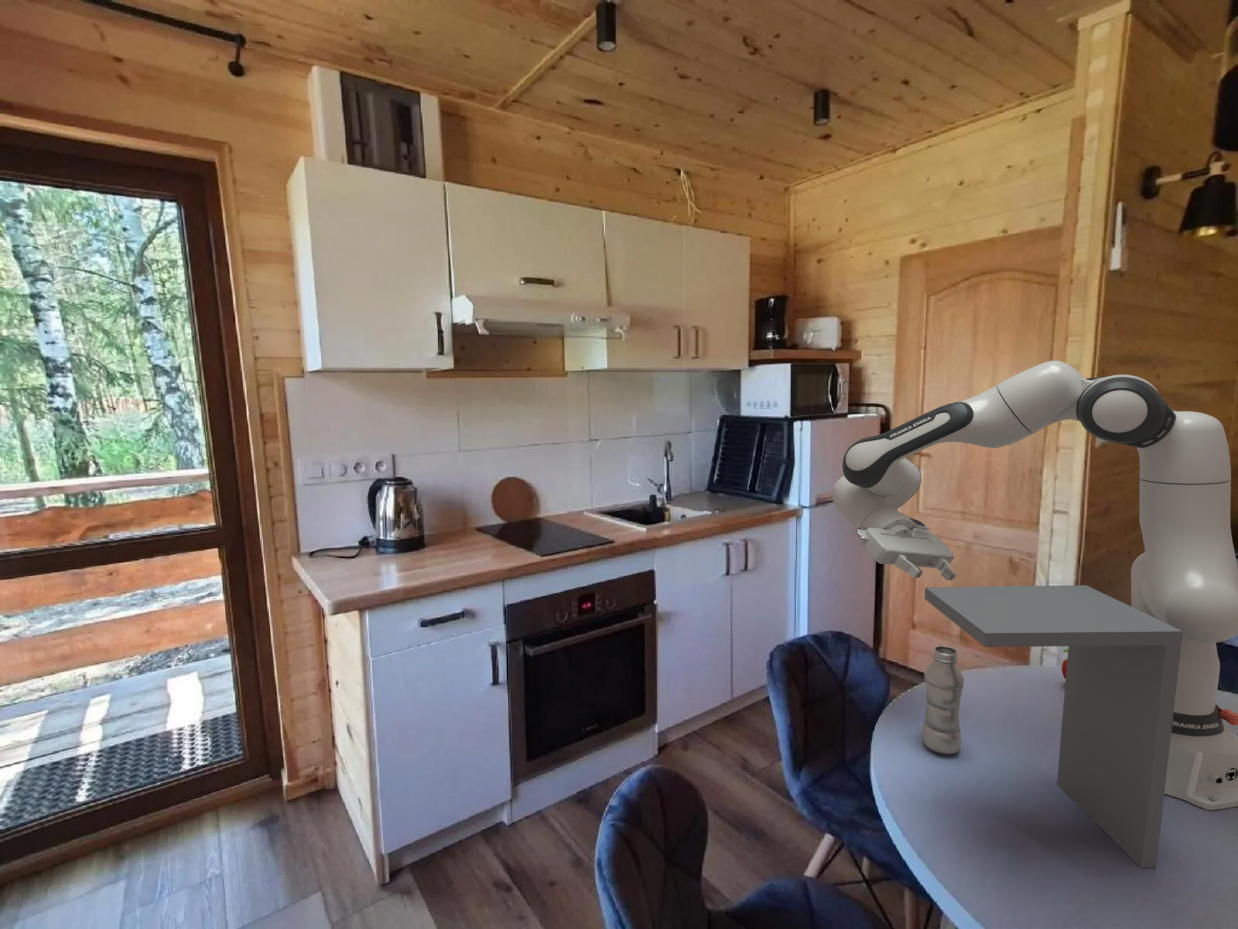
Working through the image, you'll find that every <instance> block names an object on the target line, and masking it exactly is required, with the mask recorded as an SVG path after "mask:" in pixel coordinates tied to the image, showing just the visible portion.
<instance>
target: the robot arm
mask: <svg viewBox="0 0 1238 929" xmlns="http://www.w3.org/2000/svg"><path fill="white" fill-rule="evenodd" d="M1066 420H1068V421H1069V420H1073V421H1077V422H1079V423H1081V425H1082V427H1083V428H1084V429H1085V430H1086V432H1087V433H1089V434H1090V435H1092V436H1094V437H1095V438H1098V439H1100V440H1103V441H1105V442H1108V443H1113V444H1118V445H1120V444H1121V445H1125V446H1129V447H1132V448H1133V447H1134V448H1136V450H1137V453H1138V458H1139V527H1140V530H1141V534H1142V540H1143V541H1142V542H1143V547H1144V552H1143V553H1141V554H1139V555H1138V556H1137V557H1136V559H1135V560H1134V561H1133V563H1132V566H1131V568H1130V569H1131V570H1130V581H1131V584H1130V585H1131V589H1130V590H1131V591H1130V592H1131V593H1130V595H1131V597H1130V598H1131V599H1130V601H1131V602H1130V603H1131V604H1130V606H1131V607H1133V608H1135V609H1137V610H1139V611H1141V612H1143V613H1146V614H1148V615H1150V616H1152V617H1154V618H1156V619H1158V620H1160V621H1162V622H1164V623H1166V624H1169V625H1171V626H1173V627H1175V628H1177V629H1179V630H1181V631H1183V634H1182V643H1181V651H1180V660H1179V669H1178V678H1177V687H1176V695H1175V704H1174V713H1173V722H1172V730H1171V739H1170V748H1169V757H1168V766H1167V774H1166V783H1165V792H1164V795H1168V796H1172V797H1175V798H1178V799H1182V800H1184V801H1186V802H1188V803H1191V804H1193V805H1195V806H1197V807H1199V808H1202V809H1204V810H1208V811H1209V810H1210V811H1215V810H1216V811H1217V810H1222V809H1228V808H1235V807H1238V736H1236V735H1235V734H1234V733H1233V732H1232V731H1230V730H1229V729H1228V728H1227V727H1225V726H1224V722H1223V721H1226V723H1228V724H1230V725H1231V726H1238V713H1236V712H1234V711H1232V710H1231V709H1229V708H1224V709H1222V708H1221V707H1220V705H1217V703H1216V702H1217V697H1218V696H1217V694H1218V689H1219V688H1218V686H1219V680H1220V671H1221V670H1220V669H1221V664H1220V663H1221V662H1220V658H1219V655H1218V649H1217V643H1221V642H1225V641H1227V640H1230V639H1232V638H1234V637H1236V636H1237V635H1238V562H1237V557H1236V552H1235V547H1234V542H1233V537H1232V528H1231V506H1232V504H1231V499H1232V498H1231V497H1232V496H1231V495H1232V494H1231V490H1232V488H1231V487H1232V466H1231V456H1230V450H1229V449H1230V448H1229V444H1228V440H1227V436H1226V435H1227V434H1226V431H1225V428H1224V426H1223V424H1222V423H1221V422H1222V421H1220V420H1219V419H1218V418H1216V417H1214V416H1212V415H1209V414H1207V413H1203V412H1199V411H1193V410H1192V411H1190V410H1189V411H1188V410H1187V411H1186V410H1184V411H1183V410H1182V411H1179V410H1173V409H1172V407H1170V406H1169V404H1168V403H1167V402H1166V400H1165V399H1164V398H1163V397H1162V395H1161V394H1160V392H1159V391H1158V389H1157V388H1156V387H1155V386H1154V385H1153V384H1152V383H1151V382H1149V381H1148V380H1146V379H1144V378H1143V377H1140V376H1137V375H1136V376H1135V375H1132V374H1114V375H1108V376H1098V377H1087V378H1085V377H1084V376H1083V375H1082V374H1081V373H1080V372H1079V371H1078V370H1077V369H1076V368H1075V367H1073V366H1072V365H1070V364H1069V363H1066V362H1064V361H1061V360H1048V361H1045V362H1042V363H1040V364H1038V365H1035V366H1032V367H1030V368H1027V369H1025V370H1023V371H1021V372H1019V373H1017V374H1014V375H1012V376H1011V377H1008V378H1006V379H1004V380H1003V381H1001V382H999V383H998V384H996V385H994V386H993V387H991V388H989V389H987V390H985V391H983V392H980V393H979V394H976V395H973V396H971V397H969V398H965V399H963V400H960V401H954V402H951V403H946V404H945V405H941V406H939V407H936V408H934V409H932V410H930V411H928V412H925V413H924V414H923V413H922V415H918V416H917V417H915V418H912V419H911V420H908V421H906V422H905V423H904V422H903V424H900V425H898V426H896V427H893V428H892V429H890V430H888V431H885V432H883V433H880V434H877V435H873V436H868V437H864V438H861V439H859V440H857V441H855V442H854V443H853V444H851V445H850V446H849V447H848V449H847V450H846V451H845V453H844V456H843V458H842V466H841V467H842V472H843V476H841V477H840V478H839V479H838V480H837V481H835V483H834V486H833V488H832V492H831V497H832V502H833V504H834V506H835V507H836V509H837V511H838V512H839V513H840V514H841V516H843V517H844V519H846V521H847V522H848V523H849V524H850V525H851V526H853V527H855V528H856V529H855V534H856V536H858V537H859V539H860V541H859V542H860V544H861V546H862V548H863V549H864V550H865V551H866V553H868V555H869V556H870V558H871V559H872V560H874V561H875V562H877V563H878V564H881V565H892V566H895V567H896V568H898V569H899V570H901V571H903V572H905V573H907V574H908V576H909V577H911V578H913V579H919V578H920V577H921V576H922V574H924V573H923V570H922V569H921V568H929V569H930V568H932V569H937V570H938V571H940V573H941V574H940V576H941V577H942V578H944V580H946V581H954V579H955V578H956V577H957V573H956V572H955V571H954V570H953V569H952V568H951V565H950V564H951V563H952V562H953V560H954V559H955V554H954V552H953V551H952V549H950V548H949V546H948V545H946V543H944V541H942V540H941V539H940V538H939V537H938V536H937V535H935V534H934V533H933V532H931V531H929V528H930V527H929V526H928V525H927V524H926V523H925V522H923V521H921V520H918V519H914V518H912V517H910V516H908V515H906V514H904V513H903V512H900V511H899V510H898V509H899V508H901V507H902V506H904V505H905V504H906V503H907V502H908V501H909V500H910V499H912V497H913V496H914V495H916V493H917V492H918V490H919V488H920V487H921V483H922V473H921V471H920V469H919V467H918V466H917V465H916V464H915V463H914V462H912V461H910V460H909V459H908V457H910V456H912V455H915V454H917V453H919V452H921V451H924V450H926V449H928V448H931V447H932V446H935V445H937V444H942V443H943V444H944V443H961V444H962V443H964V444H970V445H975V446H978V447H983V448H989V449H999V448H1003V447H1006V446H1010V445H1012V444H1015V443H1018V442H1020V441H1022V440H1024V439H1026V438H1028V437H1029V436H1032V435H1033V434H1036V433H1037V432H1039V431H1041V430H1042V429H1044V428H1046V427H1048V426H1050V425H1053V424H1056V423H1058V422H1061V421H1066Z"/></svg>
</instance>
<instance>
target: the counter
mask: <svg viewBox="0 0 1238 929" xmlns="http://www.w3.org/2000/svg"><path fill="white" fill-rule="evenodd" d="M924 600H925V601H927V602H928V603H929V604H930V605H931V606H933V607H934V608H935V609H937V610H938V611H939V612H940V613H941V614H942V615H944V616H945V617H947V619H949V620H950V621H952V622H953V623H954V624H955V625H956V626H958V627H959V628H960V629H961V630H963V631H964V632H965V633H967V634H968V635H969V636H970V637H972V638H973V639H974V640H975V641H976V642H978V643H979V644H980V645H982V646H983V647H984V648H998V647H999V648H1001V647H1002V648H1005V647H1006V648H1007V647H1008V648H1011V647H1012V648H1013V647H1016V648H1017V647H1019V648H1021V647H1022V648H1023V647H1026V648H1027V647H1028V648H1031V647H1067V649H1068V652H1067V659H1068V660H1067V671H1066V680H1065V682H1064V683H1065V686H1064V696H1063V698H1064V699H1063V706H1062V707H1063V710H1062V718H1061V719H1062V720H1061V733H1060V741H1059V742H1060V745H1059V753H1058V754H1059V756H1058V765H1057V766H1058V767H1057V768H1058V769H1057V779H1056V780H1057V781H1056V785H1058V787H1059V788H1060V789H1061V790H1062V791H1063V792H1064V793H1065V794H1066V795H1067V796H1068V797H1069V798H1070V799H1071V800H1072V801H1073V802H1074V803H1076V805H1078V806H1079V808H1081V810H1082V811H1083V812H1084V813H1085V814H1087V815H1088V817H1089V818H1090V819H1091V820H1092V821H1094V823H1096V824H1097V826H1098V827H1100V829H1101V830H1102V831H1103V832H1104V833H1106V834H1107V835H1108V836H1109V838H1111V840H1113V841H1114V842H1115V843H1116V845H1118V847H1120V848H1121V849H1122V850H1123V851H1124V852H1125V853H1126V854H1127V856H1129V857H1130V858H1131V859H1132V860H1133V861H1134V863H1136V864H1137V865H1138V866H1139V867H1140V868H1141V869H1156V868H1157V862H1158V861H1157V860H1158V854H1159V853H1158V852H1159V842H1160V836H1161V825H1162V819H1163V818H1162V817H1163V816H1162V815H1163V809H1164V802H1165V801H1164V800H1165V794H1164V792H1165V783H1166V774H1167V766H1168V757H1169V748H1170V739H1171V730H1172V722H1173V713H1174V704H1175V695H1176V687H1177V678H1178V669H1179V660H1180V651H1181V643H1182V634H1183V631H1181V630H1179V629H1177V628H1175V627H1173V626H1171V625H1169V624H1166V623H1164V622H1162V621H1160V620H1158V619H1156V618H1154V617H1152V616H1150V615H1148V614H1146V613H1143V612H1141V611H1139V610H1137V609H1135V608H1133V607H1131V605H1128V604H1126V603H1124V602H1123V601H1120V600H1118V599H1115V598H1114V597H1112V596H1110V595H1108V594H1105V593H1103V592H1102V591H1099V590H1097V589H1095V588H1093V587H1091V586H1089V585H1087V584H1081V585H1079V584H1078V585H1075V584H1074V585H1014V586H1013V585H1009V586H1007V585H1005V586H1001V585H1000V586H999V585H997V586H995V585H994V586H938V587H937V586H931V587H930V586H929V587H928V586H925V587H924Z"/></svg>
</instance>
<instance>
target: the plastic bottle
mask: <svg viewBox="0 0 1238 929" xmlns="http://www.w3.org/2000/svg"><path fill="white" fill-rule="evenodd" d="M933 652H934V653H933V659H934V660H932V661H931V663H930V664H929V665H928V666H927V667H926V668H925V671H924V683H925V692H926V709H925V716H924V721H923V725H922V730H921V737H922V741H923V743H924V744H925V745H926V747H927V748H928V749H929V750H931V751H932V752H935V753H937V754H940V755H955V754H956V753H957V752H958V751H959V750H960V748H961V745H962V739H963V738H962V733H961V729H960V715H959V714H960V704H961V698H962V692H963V689H964V682H965V679H964V676H963V673H962V672H961V670H960V668H959V667H958V665H957V664H956V663H958V658H957V656H958V651H957V650H956V649H955V648H952V647H950V646H943V645H937V646H935V647H934V651H933Z"/></svg>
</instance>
